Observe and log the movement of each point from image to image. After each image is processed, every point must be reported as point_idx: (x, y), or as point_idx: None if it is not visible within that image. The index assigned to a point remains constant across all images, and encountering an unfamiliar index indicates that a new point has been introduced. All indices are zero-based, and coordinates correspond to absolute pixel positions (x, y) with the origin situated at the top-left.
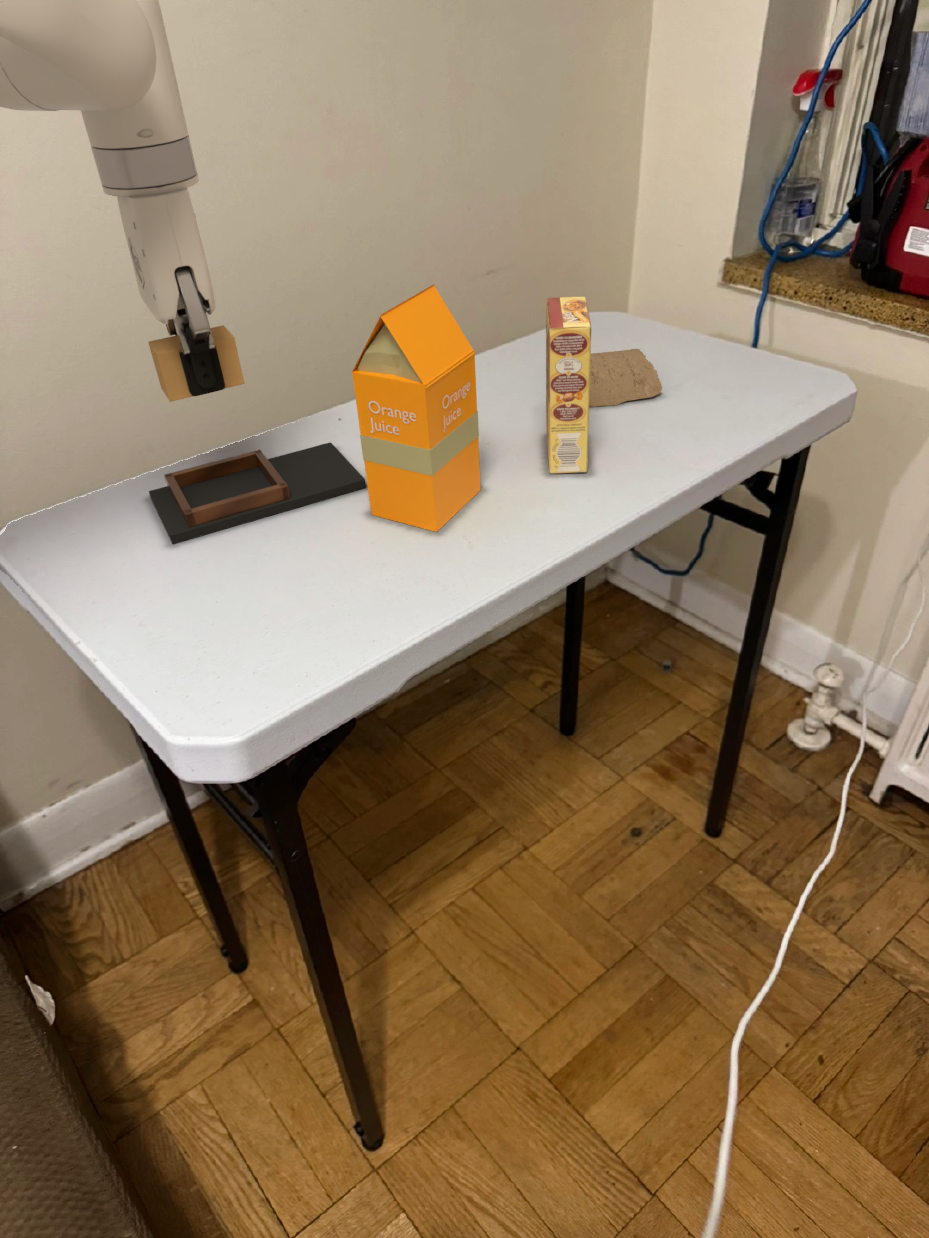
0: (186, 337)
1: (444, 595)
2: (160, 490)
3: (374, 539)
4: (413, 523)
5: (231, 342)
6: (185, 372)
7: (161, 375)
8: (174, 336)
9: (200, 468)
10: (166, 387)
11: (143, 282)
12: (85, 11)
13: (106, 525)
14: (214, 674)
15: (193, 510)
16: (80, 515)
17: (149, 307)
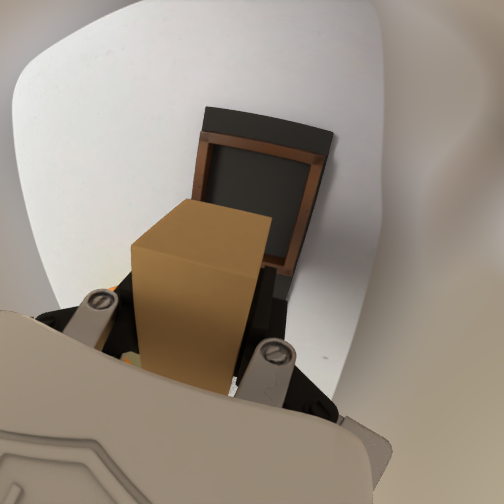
0: (45, 317)
1: (48, 247)
2: (322, 144)
3: (111, 257)
4: (113, 288)
5: None
6: None
7: (178, 221)
8: (234, 339)
9: (303, 200)
10: (173, 210)
11: (24, 445)
12: None
13: (310, 65)
14: (43, 93)
15: (201, 143)
16: (358, 56)
17: (107, 374)
